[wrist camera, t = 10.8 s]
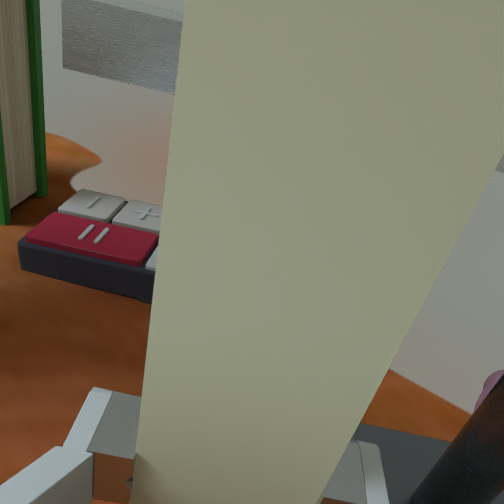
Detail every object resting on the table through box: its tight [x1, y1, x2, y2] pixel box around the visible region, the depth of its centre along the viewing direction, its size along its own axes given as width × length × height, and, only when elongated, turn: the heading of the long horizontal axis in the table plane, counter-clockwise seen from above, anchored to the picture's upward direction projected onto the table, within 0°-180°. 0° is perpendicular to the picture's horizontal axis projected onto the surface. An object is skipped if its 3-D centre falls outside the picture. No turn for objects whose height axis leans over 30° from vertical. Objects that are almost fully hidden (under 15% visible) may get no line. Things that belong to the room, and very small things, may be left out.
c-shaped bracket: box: [130, 0, 504, 504], centre depth 10 cm, size 4×9×20 cm, turn 175°
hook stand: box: [61, 0, 504, 504], centre depth 20 cm, size 26×10×24 cm, turn 85°
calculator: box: [17, 189, 163, 305], centre depth 41 cm, size 11×4×15 cm
